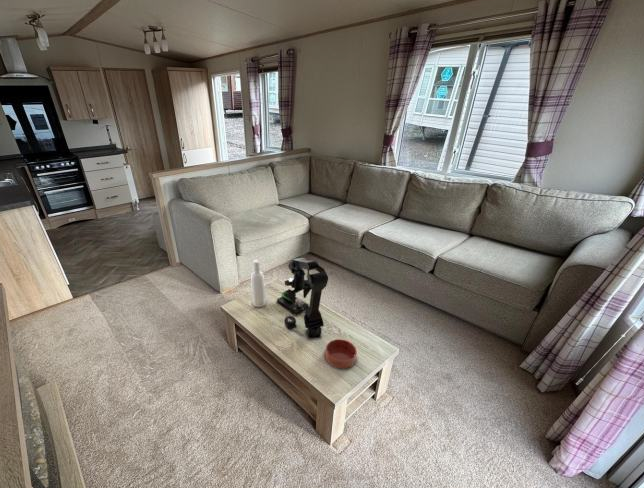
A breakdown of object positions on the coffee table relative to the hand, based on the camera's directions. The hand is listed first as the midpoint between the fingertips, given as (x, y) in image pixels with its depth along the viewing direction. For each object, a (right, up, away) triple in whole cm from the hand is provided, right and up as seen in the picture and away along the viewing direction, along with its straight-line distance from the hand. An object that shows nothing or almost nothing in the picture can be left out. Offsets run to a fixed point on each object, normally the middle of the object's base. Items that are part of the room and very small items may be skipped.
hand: (298, 301), depth 174 cm
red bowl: (+18, -24, -29) cm, 42 cm away
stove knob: (0, -3, +2) cm, 4 cm away
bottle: (-23, -3, +10) cm, 25 cm away
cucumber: (-6, +1, +8) cm, 10 cm away
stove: (-3, -3, +7) cm, 8 cm away
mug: (-4, -14, -11) cm, 19 cm away
